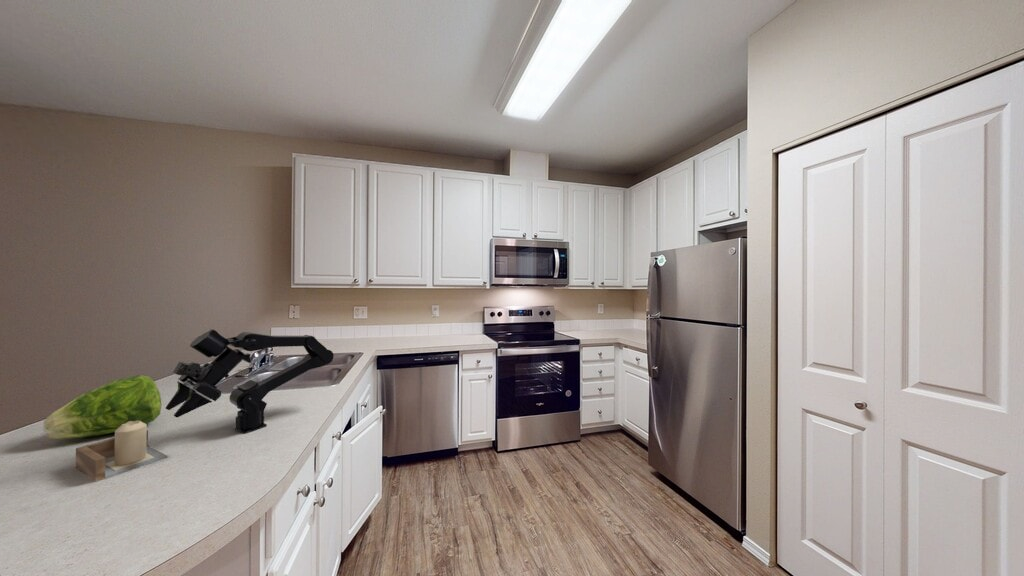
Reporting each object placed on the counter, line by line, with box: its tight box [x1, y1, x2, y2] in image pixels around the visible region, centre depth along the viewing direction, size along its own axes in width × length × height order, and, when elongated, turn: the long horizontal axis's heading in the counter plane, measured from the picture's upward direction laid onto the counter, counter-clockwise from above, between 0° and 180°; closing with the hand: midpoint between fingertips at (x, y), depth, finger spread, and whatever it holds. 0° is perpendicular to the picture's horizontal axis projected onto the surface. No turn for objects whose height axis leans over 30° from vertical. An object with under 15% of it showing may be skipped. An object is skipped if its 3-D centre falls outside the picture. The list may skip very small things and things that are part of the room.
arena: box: [75, 429, 168, 483], centre depth 87 cm, size 12×14×5 cm
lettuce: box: [42, 374, 162, 440], centre depth 104 cm, size 17×23×16 cm
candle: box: [114, 420, 148, 465], centre depth 87 cm, size 6×6×10 cm
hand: (170, 412), depth 93 cm, fingers open, 9 cm apart
